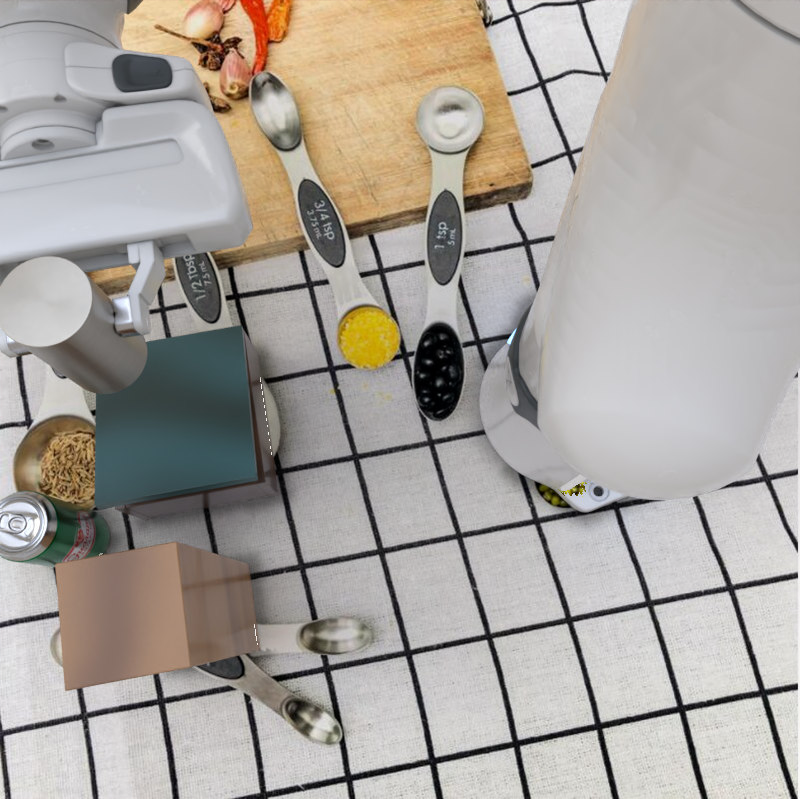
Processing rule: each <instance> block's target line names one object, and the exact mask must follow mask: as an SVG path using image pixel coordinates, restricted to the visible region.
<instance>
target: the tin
mask: <svg viewBox="0 0 800 799" xmlns="http://www.w3.org/2000/svg"><path fill="white" fill-rule="evenodd" d="M115 315H116V313H115V312H114V311H113V307H112V298H110V297H109V296H108V295H107V293H105V292H104V291H103V289H102V288H101V287H99V285H98V284H97V283H96V282H95V281H94V280H93V279H92V278H91V276H89V275H88V274H87V273H85V272H84V271H83V270H82V269H81V267H79V266H78V265H77V264H75V263H74V262H72V261H70V260H68V259H65V258H62V257H57V256H41V257H36V258H33V259H30V260H27V261H25V262H23V263H22V264H20V265H18V266H17V267H16V268H14V269H13V270H12V271H11V272H10V273H9V274H8V275H7V276H6V278H5V279H4V280H3V282H2V284H1V285H0V327H1V328H2V330H3V331H4V332H5V334H6V335H7V336H8V337H10V338H11V339H12V340H14V341H15V342H16V343H18V344H19V345H21V346H22V347H24V348H25V349H27V350H28V351H29V352H31V353H32V354H31V355H34V356H35V357H37V359H40V360H41V361H42V362H44V363H45V364H47V365H48V366H49V367H51V368H52V369H54V370H55V371H57V372H58V373H59V374H61V375H63V376H64V377H66V379H69V380H70V381H71V382H73V383H74V384H76V385H77V386H79V387H80V388H81V389H83V390H85V391H87V392H90V393H93V394H96V393H97V394H111V393H115V392H118V391H121V390H123V389H125V388H127V387H128V386H130V385H131V384H132V383H133V382H134V381H135V380H136V379H137V378H138V377H139V376H140V374H141V373H142V371H143V369H144V367H145V364H146V360H147V344H146V342H147V341H146V337H145V335H139V336H132V337H126V338H123V337H122V334H119V333H118V332H117V331H116V328H115V324H114V317H115Z"/></svg>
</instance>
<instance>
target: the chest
mask: <svg viewBox="0 0 800 799" xmlns="http://www.w3.org/2000/svg"><path fill="white" fill-rule="evenodd" d="M244 339H245V349H246V360H247V370H248V381H249V391H250V402H251V412H252V423H253V433H254V443H255V454H256V464H257V475H258V481H253V482H247V483H242V484H236V485H231V486H225V487H220V488H214V489H209V490H203V491H198V492H192V493H187V494H181V495H176V496H170V497H165V498H160V499H154V500H149V501H143V502H138V503H132V504H127V505H121V506H116V507H114V510H115V511H118V512H121V513H123V514H126V515H128V516H131V517H134V518H137V519H140V520H149V519H155V518H159V517H164V516H170V515H176V514H181V513H186V512H187V513H188V512H191V511H192V512H193V511H198V510H203V509H209V508H215V507H219V506H225V505H230V504H236V503H242V502H247V501H251V500H257V499H263V498H270V497H275V496H279V495H280V491H279V483H278V477H277V470H276V464H275V457H274V451H273V444H272V443H273V442H272V436H271V431H270V423H269V415H268V410H267V403H266V395H265V390H264V383H263V376H262V368H261V363H260V362H261V361H260V355H259V353H258V352H257V350H256V348H255V346H254V344H253V343H252V341H251V340H250V337H249V336H248V335H247V333H246V331H245V330H244ZM260 377H261V382H260ZM261 384H262V389H261ZM262 391H263V395H262ZM263 398H264V402H263ZM264 405H265V408H264ZM265 411H266V415H265ZM266 418H267V421H266ZM267 425H268V427H267ZM268 432H269V435H268ZM269 439H270V441H269ZM270 446H271V449H270ZM271 452H272V455H271Z"/></svg>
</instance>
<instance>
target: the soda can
mask: <svg viewBox="0 0 800 799" xmlns="http://www.w3.org/2000/svg"><path fill="white" fill-rule="evenodd" d="M110 538H111V537H110V529H109V525H108V523H107V521H106V520H105V518H104V517H103V516H102V515H101V513H98V511H95V510H93V509H90V508H87V507H85V506H82V505H79V504H75V503H72V502H69V501H66V500H64V499H61V498H57V497H54V496H51V495H47V494H45V493H42V492H39V491H36V490H20V491H17V492H13V493H11V494H8V495H6V496H5V497H4V498H1V499H0V557H1V558H2V559H5V560H6V561H8V562H11V563H12V562H13V563H21V564H28V565H36V566H43V567H49V568H50V567H51V568H55V564H57V563H62V562H67V561H73V560H78V559H83V558H89V557H94V556H99V554H100V553H103V554H102V555H105V554H106V551H107V550H108V547H109V543H110Z"/></svg>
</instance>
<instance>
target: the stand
mask: <svg viewBox="0 0 800 799" xmlns="http://www.w3.org/2000/svg"><path fill="white" fill-rule="evenodd" d="M54 569H55V578H56V579H55V580H56V592H57V605H58V606H57V607H58V618H59V632H60V643H61V644H60V645H61V657H62V658H61V659H62V671H63V681H64V683H63V684H64V691H65V692H68V691H74V690H79V689H85V688H90V687H95V686H101V685H106V684H111V683H115V682H121V681H126V680H127V681H128V680H131V679H137V678H138V679H139V678H143V677H147V676H154V675H158V674H163V673H168V672H174V671H180V670H185V669H189V668H195V667H198V666H203V665H207V664H210V663H214V662H220V661H223V660H227V659H231V658H234V657H239V656H243V655H247V654H251V653H252V654H253V653H255V652H259V651H261V645H260V643H261V642H260V636H259V630H258V622H257V614H256V608H255V600H254V599H255V598H254V591H253V585H252V584H253V583H252V578H251V569H250V564H249V563H247V562H244V561H241V560H238V559H234V558H231V557H227V556H225V555H221V554H217V553H214V552H212V551H208V550H205V549H202V548H199V547H195V546H191V545H188V544H186V543H182V542H179V541H171V542H165V543H160V544H154V545H149V546H144V547H138V548H133V549H128V550H122V551H117V552H111V553H104V555H100V556H94V557H89V558H83V559H78V560H73V561H67V562H62V563H57V564H55V567H54ZM254 624H255V628H254ZM255 629H256V636H257V641H256V636H255ZM257 643H258V645H257Z"/></svg>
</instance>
